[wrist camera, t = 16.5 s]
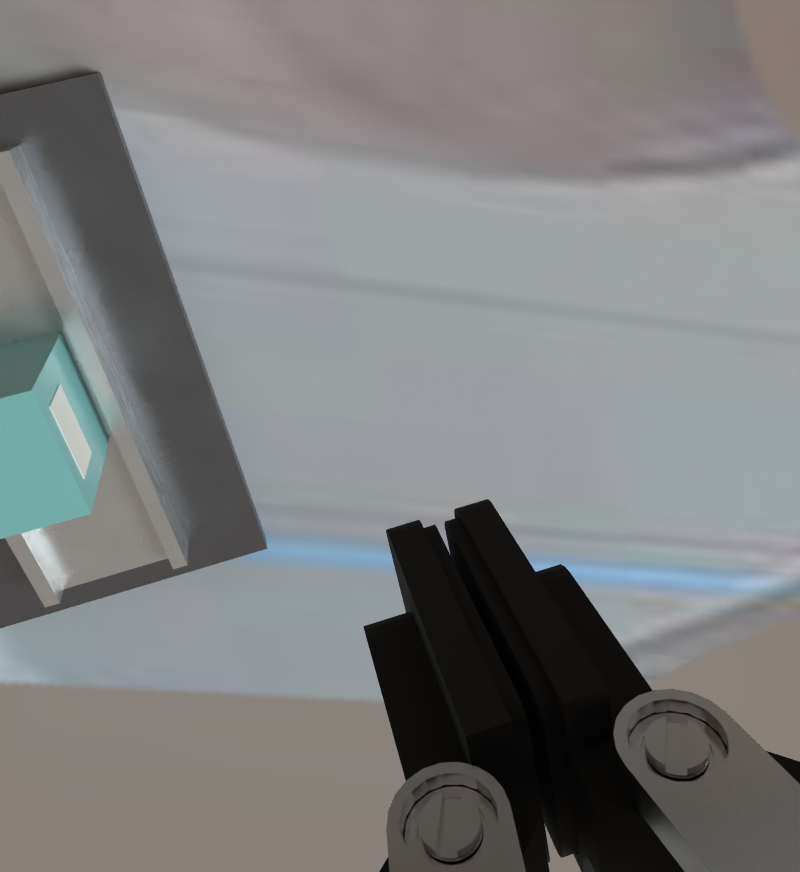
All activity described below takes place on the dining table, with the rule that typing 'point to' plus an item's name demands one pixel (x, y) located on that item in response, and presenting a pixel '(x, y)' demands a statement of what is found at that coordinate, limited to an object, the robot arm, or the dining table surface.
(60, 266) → the rail board
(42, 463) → the block
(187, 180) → the dining table surface
